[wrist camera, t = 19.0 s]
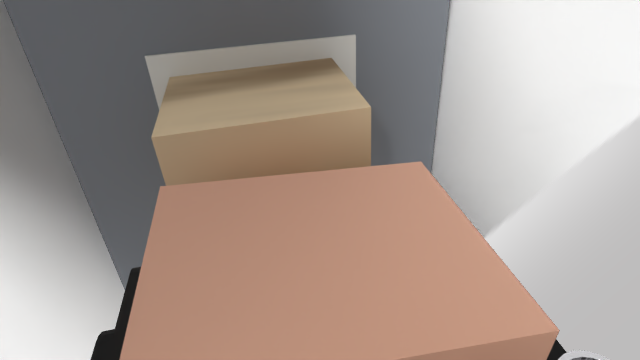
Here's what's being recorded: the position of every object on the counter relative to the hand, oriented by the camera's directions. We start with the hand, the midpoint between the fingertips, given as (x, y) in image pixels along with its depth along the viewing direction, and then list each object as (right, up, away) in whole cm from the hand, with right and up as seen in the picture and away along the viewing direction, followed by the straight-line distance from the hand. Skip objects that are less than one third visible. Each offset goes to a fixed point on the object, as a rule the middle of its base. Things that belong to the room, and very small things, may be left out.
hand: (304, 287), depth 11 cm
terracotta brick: (0, 0, +1) cm, 1 cm away
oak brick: (-2, +4, +7) cm, 8 cm away
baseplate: (-2, +5, +8) cm, 9 cm away
